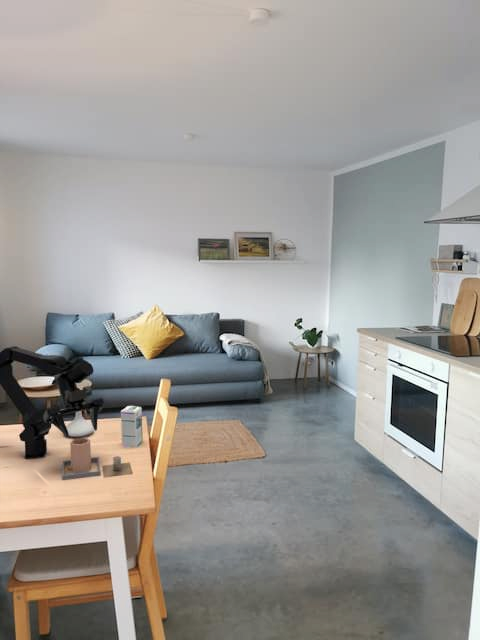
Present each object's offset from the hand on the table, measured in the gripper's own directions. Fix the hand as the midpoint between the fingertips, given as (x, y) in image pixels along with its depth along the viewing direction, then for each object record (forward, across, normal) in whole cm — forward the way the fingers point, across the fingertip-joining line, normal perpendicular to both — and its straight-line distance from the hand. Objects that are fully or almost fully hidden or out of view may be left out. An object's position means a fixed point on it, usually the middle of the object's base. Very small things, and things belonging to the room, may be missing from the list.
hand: (82, 433), depth 161 cm
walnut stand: (+14, +9, +4) cm, 17 cm away
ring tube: (+9, -1, +9) cm, 13 cm away
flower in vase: (-12, +11, +35) cm, 38 cm away
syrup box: (+3, +22, +17) cm, 28 cm away
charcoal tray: (+10, -1, +9) cm, 13 cm away
